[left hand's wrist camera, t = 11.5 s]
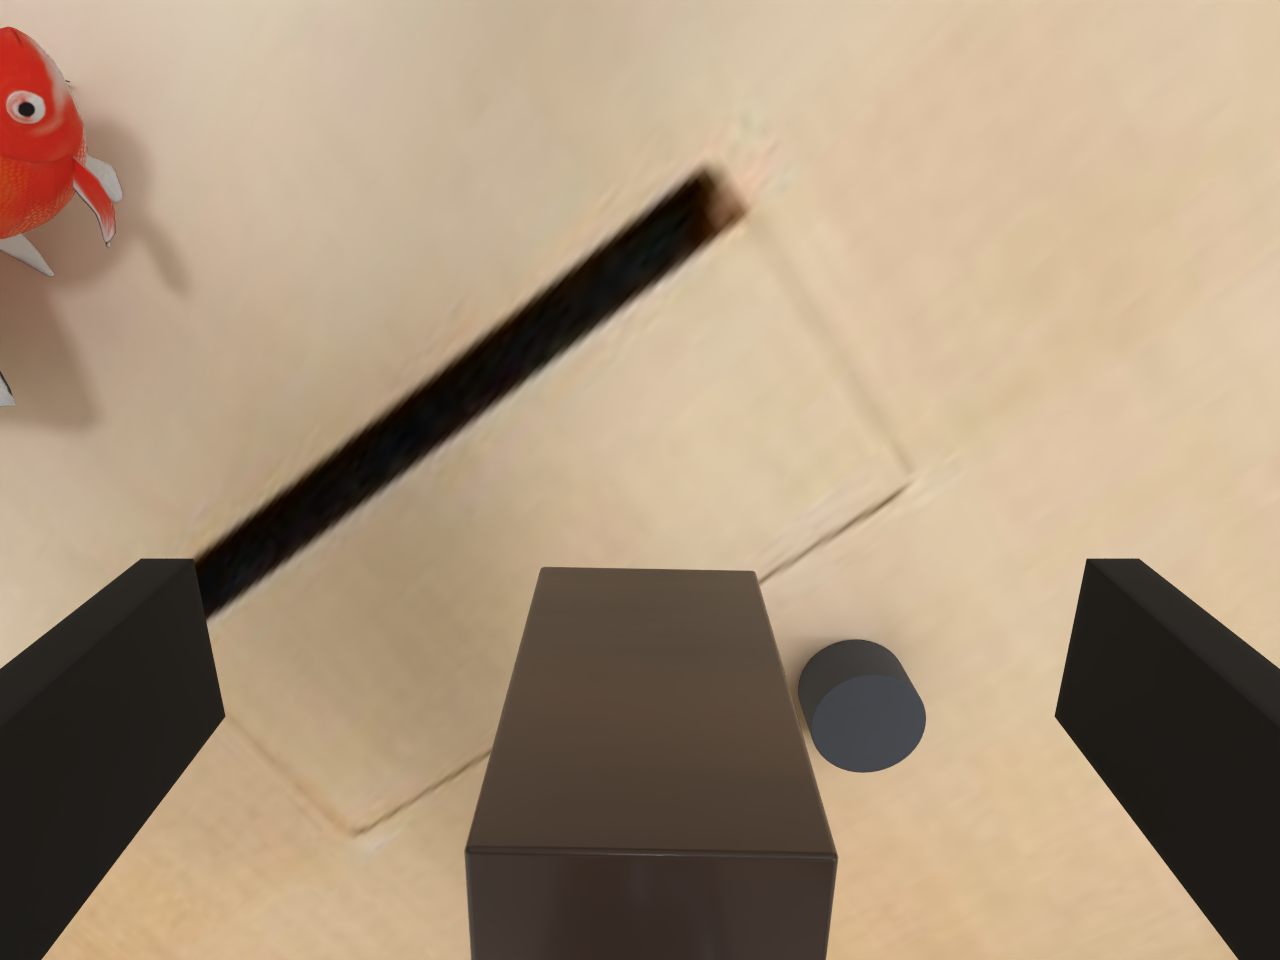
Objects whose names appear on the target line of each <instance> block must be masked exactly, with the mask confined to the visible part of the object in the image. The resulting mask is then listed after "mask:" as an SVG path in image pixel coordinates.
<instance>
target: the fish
mask: <svg viewBox="0 0 1280 960" xmlns="http://www.w3.org/2000/svg"><path fill="white" fill-rule="evenodd" d="M66 81H67V80H65V79H64V77H63V75H62V73H61V71H60V70H59V68H58V67H57V65H56V64H55V62H54V61H53V59H52V58H51V57H50V56H49V55H48V54H47V53H46V52H45V51H44V50H43V49H42V48H41V47H40V46H39V45H38V44H37V43H36V42H35V41H34V40H33V39H32V38H30V37H29V36H27V35H26V34H24V33H22V32H21V31H19V30H17V29H15V28H12V27H5V28H1V29H0V251H2V252H4V253H6V254H8V255H10V256H12V257H14V258H16V259H18V260H20V261H22V262H24V263H26V264H28V265H29V266H31V267H33V268H35V269H37V270H38V271H40V272H42V273H43V274H45V275H47V276H54V273H53V272H52V271H51V269H50V268H49V266H48V265H47V264H46V262H45V261H44V259H43V258H42V256H41V255H40V253H39V252H38V251H37V250H36V248H35V247H34V246H33V245H32V244H31V243H30V242H29V241H28V240H27V239H26V238H25V237H24V236H23V235H22V234H21V233H23V232H26V231H28V230H31V229H33V228H35V227H38V226H40V225H42V224H44V223H46V222H47V221H49V220H50V219H52V218H53V217H54V216H55V215H56V214H57V213H58V212H59V211H60V210H61V209H62V208H63V207H64V206H65V205H66V204H67V203H68V202H69V201H70V200H71V198H72V197H73V195H74V193H75V192H77V193H78V195H79V196H80V197H81V198H82V199H83V200H84V201H85V202H86V203H87V205H88V206H89V207H90V208H91V209H92V210H93V211H94V213H95V214H96V216H97V219H98V221H99V224H100V227H101V231H102V235H103V238H104V241H105V244H106V246H107V247H108V248H109V247H110V242H111V239H112V237H113V236H114V234H115V233H116V232H115V212H114V208H113V205H112V201H113V202H118V201H120V200H121V199H122V197H123V194H122V190H121V187H120V184H119V181H118V178H117V175H116V173H115V171H114V169H113V168H112V166H111V165H109V164H108V163H106V162H104V161H101V160H98V159H95V158H93V157H91V156H89V155H88V154H87V141H86V135H85V130H84V125H83V122H82V119H81V116H80V112H79V110H78V107H77V105H76V102H75V100H74V98H73V95H72V93H71V91H70V89H69V87H68V85H67V83H66ZM67 82H69V81H67ZM0 406H16V404H15V401H14V398H13V396H12V393H11V390H10V388H9V386H8V384H7V382H6V381H5V379H4V377H3V375H2V374H1V372H0Z"/></svg>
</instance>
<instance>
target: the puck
mask: <svg viewBox="0 0 1280 960" xmlns="http://www.w3.org/2000/svg"><path fill="white" fill-rule="evenodd" d="M798 694H799V700H800V703H801V706H802V709H803V712H804V715H805V718H806V721H807V724H808V727H809V730H810V733H811V736H812V739H813V742H814V745H815V747H816V749H817V750H818V751H819V753H820V754H821V755H822V756H823V757H824V758H825V759H826V760H827V761H828V762H830V763H831V764H833V765H835V766H837V767H839V768H841V769H844V770H848V771H852V772H874V771H879V770H883V769H886V768H889V767H891V766H893V765H895V764H897V763H899V762H900V761H902V760H903V759H905V758H906V757H907V756H908V755H909V754H910V753H911V752H912V751H913V750H914V749H915V748H916V746H917V745H918V743H919V742H920V740H921V738H922V735H923V733H924V729H925V724H926V714H925V708H924V705H923V703H922V700H921V698H920V697H919V695H918V693H917V691H916V690H915V688H914V686H913V684H912V683H911V681H910V679H909V677H908V676H907V674H906V672H905V670H904V669H903V667H902V665H901V664H900V662H899V660H898V659H897V658H896V657H895V655H894V654H893V653H891V652H890V651H889V650H888V649H886V648H885V647H883V646H881V645H879V644H876V643H873V642H870V641H864V640H848V641H843V642H839V643H836V644H833V645H831V646H828V647H827V648H825V649H823V650H822V651H820V652H819V653H818V654H816V655H815V656H814V657H813V658H812V659H811V660H810V661H809V663H808V664H807V665H806V667H805V669H804V670H803V673H802V675H801V678H800V681H799V687H798Z"/></svg>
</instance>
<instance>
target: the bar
mask: <svg viewBox="0 0 1280 960" xmlns="http://www.w3.org/2000/svg"><path fill="white" fill-rule="evenodd" d="M464 852H465V868H466V884H467V900H468V916H469V933H470V949H471V960H826V955H827V946H828V938H829V930H830V922H831V913H832V905H833V897H834V888H835V880H836V872H837V863H838V855H837V851H836V848H835V845H834V841H833V838H832V834H831V831H830V827H829V824H828V820H827V817H826V814H825V810H824V807H823V803H822V800H821V796H820V793H819V789H818V786H817V783H816V779H815V776H814V772H813V769H812V765H811V762H810V758H809V755H808V752H807V748H806V745H805V741H804V738H803V734H802V731H801V727H800V724H799V721H798V717H797V714H796V710H795V707H794V703H793V700H792V697H791V693H790V690H789V686H788V683H787V679H786V676H785V672H784V669H783V666H782V662H781V659H780V655H779V652H778V648H777V645H776V641H775V638H774V635H773V631H772V628H771V624H770V621H769V617H768V614H767V610H766V607H765V604H764V600H763V597H762V593H761V590H760V586H759V583H758V579H757V576H756V573H755V572H754V571H729V570H677V569H624V568H571V567H543V568H541V570H540V573H539V577H538V580H537V584H536V588H535V591H534V595H533V599H532V602H531V606H530V610H529V614H528V617H527V621H526V625H525V628H524V632H523V636H522V639H521V643H520V647H519V651H518V654H517V658H516V662H515V665H514V669H513V673H512V676H511V680H510V684H509V688H508V691H507V695H506V699H505V702H504V706H503V710H502V713H501V717H500V721H499V725H498V728H497V732H496V736H495V739H494V743H493V747H492V750H491V754H490V758H489V762H488V765H487V769H486V773H485V776H484V780H483V784H482V787H481V791H480V795H479V799H478V802H477V806H476V810H475V813H474V817H473V821H472V824H471V828H470V832H469V836H468V839H467V843H466V847H465V850H464Z"/></svg>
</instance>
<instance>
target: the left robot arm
mask: <svg viewBox="0 0 1280 960" xmlns="http://www.w3.org/2000/svg"><path fill="white" fill-rule="evenodd" d="M224 718H225V712H224V707H223V702H222V697H221V693H220V688H219V683H218V678H217V673H216V668H215V663H214V658H213V653H212V648H211V643H210V639H209V634H208V629H207V624H206V619H205V614H204V609H203V604H202V599H201V594H200V589H199V584H198V580H197V575H196V570H195V565H194V560H193V559H140V560H139V561H138V562H136V563H135V564H134V565H132V566H131V567H130V568H129V569H127V570H126V571H125V572H124V573H122V574H121V575H120V576H118V577H117V578H116V579H115V580H113V581H112V582H111V583H109V584H108V585H107V586H106V587H104V588H103V589H102V590H101V591H99V592H98V593H97V594H95V595H94V596H93V597H92V598H90V599H89V600H88V601H86V602H85V603H84V604H83V605H81V606H80V607H79V608H78V609H76V610H75V611H74V612H72V613H71V614H70V615H69V616H67V617H66V618H65V619H63V620H62V621H61V622H60V623H58V624H57V625H56V626H55V627H53V628H52V629H51V630H49V631H48V632H47V633H46V634H44V635H43V636H42V637H41V638H39V639H38V640H37V641H35V642H34V643H33V644H32V645H30V646H29V647H28V648H26V649H25V650H24V651H23V652H21V653H20V654H19V655H18V656H16V657H15V658H14V659H12V660H11V661H10V662H9V663H7V664H6V665H5V666H3V667H2V668H1V669H0V960H42V958H43V957H44V956H45V954H46V953H47V952H48V950H49V949H50V948H51V946H52V945H53V944H54V942H55V941H56V940H57V938H58V937H59V936H60V934H61V933H62V932H63V930H64V929H65V928H66V926H67V925H68V924H69V923H70V921H71V920H72V919H73V917H74V916H75V915H76V913H77V912H78V911H79V909H80V908H81V907H82V905H83V904H84V903H85V901H86V900H87V899H88V897H89V896H90V895H91V893H92V892H93V891H94V889H95V888H96V887H97V885H98V884H99V883H100V882H101V880H102V879H103V878H104V876H105V875H106V874H107V872H108V871H109V870H110V868H111V867H112V866H113V864H114V863H115V862H116V860H117V859H118V858H119V856H120V855H121V854H122V852H123V851H124V850H125V848H126V847H127V846H128V845H129V843H130V842H131V841H132V839H133V838H134V837H135V835H136V834H137V833H138V831H139V830H140V829H141V827H142V826H143V825H144V823H145V822H146V821H147V819H148V818H149V817H150V815H151V814H152V813H153V811H154V810H155V809H156V807H157V806H158V805H159V804H160V802H161V801H162V800H163V798H164V797H165V796H166V794H167V793H168V792H169V790H170V789H171V788H172V786H173V785H174V784H175V782H176V781H177V780H178V778H179V777H180V776H181V774H182V773H183V772H184V770H185V769H186V768H187V766H188V765H189V764H190V763H191V761H192V760H193V759H194V757H195V756H196V755H197V753H198V752H199V751H200V749H201V748H202V747H203V745H204V744H205V743H206V741H207V740H208V739H209V737H210V736H211V735H212V733H213V732H214V731H215V729H216V728H217V727H218V725H219V724H220V723H221V722H222V720H223V719H224ZM1055 718H1056V719H1057V720H1058V722H1059V723H1060V724H1061V725H1062V727H1063V728H1064V729H1065V731H1066V732H1067V733H1068V735H1069V736H1070V737H1071V739H1072V740H1073V741H1074V743H1075V744H1076V745H1077V747H1078V748H1079V749H1080V751H1081V752H1082V753H1083V755H1084V756H1085V757H1086V759H1087V760H1088V761H1089V763H1090V764H1091V765H1092V766H1093V768H1094V769H1095V770H1096V772H1097V773H1098V774H1099V776H1100V777H1101V778H1102V780H1103V781H1104V782H1105V784H1106V785H1107V786H1108V788H1109V789H1110V790H1111V792H1112V793H1113V794H1114V796H1115V797H1116V798H1117V800H1118V801H1119V802H1120V804H1121V805H1122V806H1123V807H1124V809H1125V810H1126V811H1127V813H1128V814H1129V815H1130V817H1131V818H1132V819H1133V821H1134V822H1135V823H1136V825H1137V826H1138V827H1139V829H1140V830H1141V831H1142V833H1143V834H1144V835H1145V837H1146V838H1147V839H1148V841H1149V842H1150V843H1151V845H1152V846H1153V847H1154V848H1155V850H1156V851H1157V852H1158V854H1159V855H1160V856H1161V858H1162V859H1163V860H1164V862H1165V863H1166V864H1167V866H1168V867H1169V868H1170V870H1171V871H1172V872H1173V874H1174V875H1175V876H1176V878H1177V879H1178V880H1179V882H1180V883H1181V884H1182V885H1183V887H1184V888H1185V889H1186V891H1187V892H1188V893H1189V895H1190V896H1191V897H1192V899H1193V900H1194V901H1195V903H1196V904H1197V905H1198V907H1199V908H1200V909H1201V911H1202V912H1203V913H1204V915H1205V916H1206V917H1207V919H1208V920H1209V921H1210V923H1211V924H1212V925H1213V926H1214V928H1215V929H1216V930H1217V932H1218V933H1219V934H1220V936H1221V937H1222V938H1223V940H1224V941H1225V942H1226V944H1227V945H1228V946H1229V948H1230V949H1231V950H1232V952H1233V953H1234V954H1235V956H1236V957H1237V958H1238V960H1280V669H1279V668H1278V667H1277V666H1275V665H1274V664H1273V663H1271V662H1270V661H1269V660H1268V659H1266V658H1265V657H1264V656H1262V655H1261V654H1260V653H1259V652H1257V651H1256V650H1255V649H1254V648H1252V647H1251V646H1250V645H1248V644H1247V643H1246V642H1245V641H1243V640H1242V639H1241V638H1239V637H1238V636H1237V635H1236V634H1234V633H1233V632H1232V631H1231V630H1229V629H1228V628H1227V627H1225V626H1224V625H1223V624H1222V623H1220V622H1219V621H1218V620H1217V619H1215V618H1214V617H1213V616H1211V615H1210V614H1209V613H1208V612H1206V611H1205V610H1204V609H1202V608H1201V607H1200V606H1199V605H1197V604H1196V603H1195V602H1194V601H1192V600H1191V599H1190V598H1188V597H1187V596H1186V595H1185V594H1183V593H1182V592H1181V591H1179V590H1178V589H1177V588H1176V587H1174V586H1173V585H1172V584H1171V583H1169V582H1168V581H1167V580H1165V579H1164V578H1163V577H1162V576H1160V575H1159V574H1158V573H1156V572H1155V571H1154V570H1153V569H1151V568H1150V567H1149V566H1148V565H1146V564H1145V563H1144V562H1142V561H1141V560H1140V559H1087V560H1086V565H1085V570H1084V575H1083V580H1082V584H1081V589H1080V594H1079V599H1078V604H1077V609H1076V614H1075V619H1074V624H1073V629H1072V634H1071V639H1070V643H1069V648H1068V653H1067V658H1066V663H1065V668H1064V673H1063V678H1062V683H1061V688H1060V693H1059V697H1058V702H1057V707H1056V712H1055Z"/></svg>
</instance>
